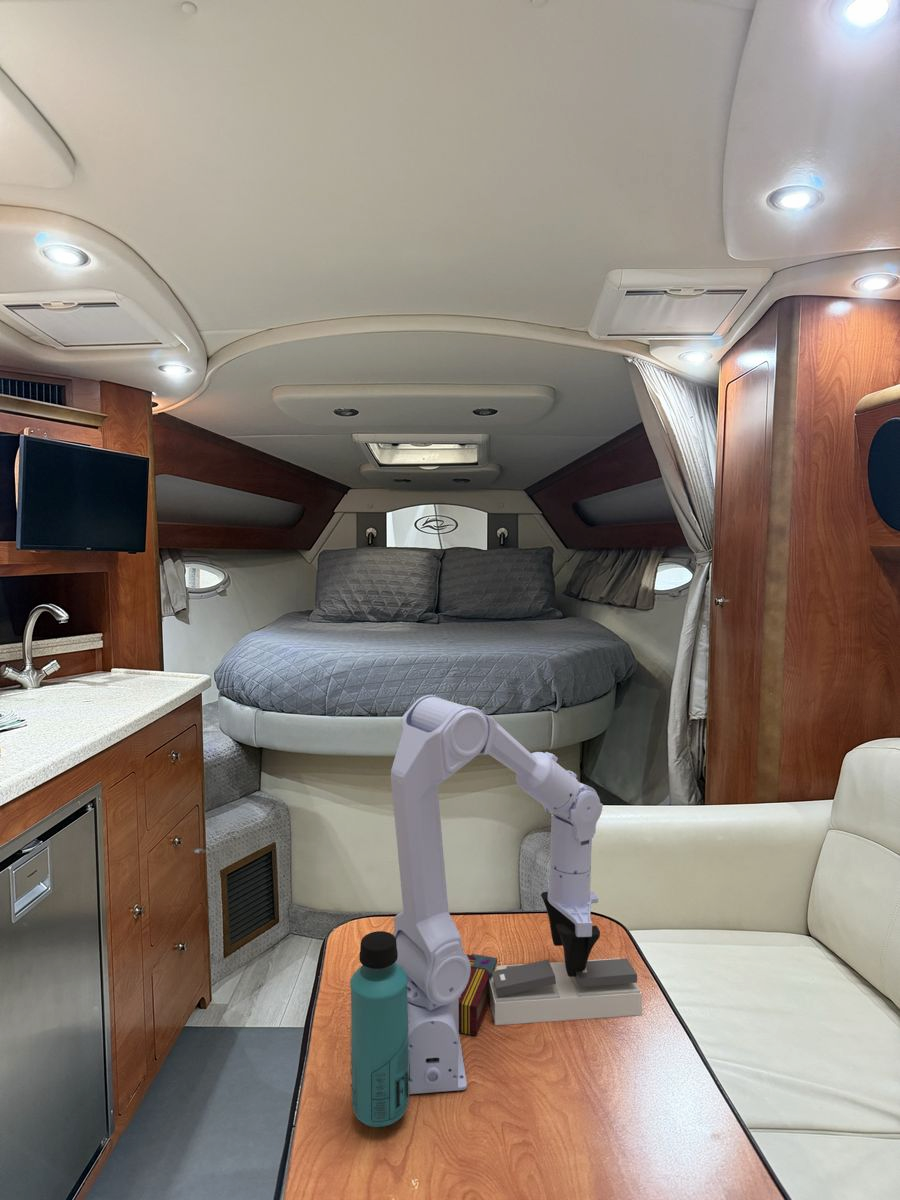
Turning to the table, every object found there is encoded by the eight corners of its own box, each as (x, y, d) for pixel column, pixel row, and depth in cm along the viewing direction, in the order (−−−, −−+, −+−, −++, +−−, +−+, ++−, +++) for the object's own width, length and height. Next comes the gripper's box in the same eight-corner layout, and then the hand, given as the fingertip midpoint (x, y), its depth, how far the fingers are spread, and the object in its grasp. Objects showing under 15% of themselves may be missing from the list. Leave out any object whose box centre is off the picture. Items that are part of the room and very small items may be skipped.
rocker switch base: (641, 1015, 88) (641, 991, 87) (495, 1025, 86) (495, 1001, 86) (620, 978, 96) (620, 956, 95) (485, 986, 94) (485, 964, 93)
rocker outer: (637, 982, 88) (637, 973, 88) (579, 987, 87) (579, 977, 87) (627, 966, 91) (627, 957, 91) (571, 970, 91) (571, 961, 91)
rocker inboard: (556, 983, 87) (554, 974, 87) (497, 996, 86) (496, 987, 86) (549, 967, 90) (548, 958, 90) (493, 979, 90) (491, 970, 89)
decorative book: (477, 1041, 83) (477, 1003, 83) (362, 1016, 88) (361, 980, 88) (497, 987, 94) (497, 954, 94) (393, 967, 99) (393, 935, 99)
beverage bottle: (401, 1148, 67) (400, 959, 67) (340, 1136, 69) (339, 952, 68) (417, 1098, 74) (416, 926, 73) (361, 1088, 75) (360, 919, 74)
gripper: (615, 888, 85) (612, 990, 86) (582, 843, 100) (579, 930, 100) (563, 890, 85) (560, 992, 85) (537, 844, 99) (534, 931, 99)
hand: (567, 959), depth 93 cm, fingers open, 7 cm apart
